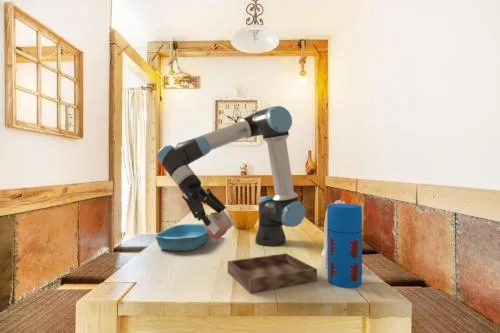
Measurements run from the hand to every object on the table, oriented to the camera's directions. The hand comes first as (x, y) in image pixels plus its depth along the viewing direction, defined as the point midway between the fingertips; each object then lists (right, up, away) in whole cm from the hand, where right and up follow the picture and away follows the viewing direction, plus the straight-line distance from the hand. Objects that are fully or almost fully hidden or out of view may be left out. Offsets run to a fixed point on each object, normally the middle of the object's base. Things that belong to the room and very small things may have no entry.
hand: (224, 229), depth 104 cm
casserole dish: (-22, -17, +47) cm, 55 cm away
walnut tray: (+16, -17, +1) cm, 23 cm away
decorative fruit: (-3, -4, +2) cm, 5 cm away
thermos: (+40, -17, -4) cm, 43 cm away
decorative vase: (+41, -17, +13) cm, 46 cm away
